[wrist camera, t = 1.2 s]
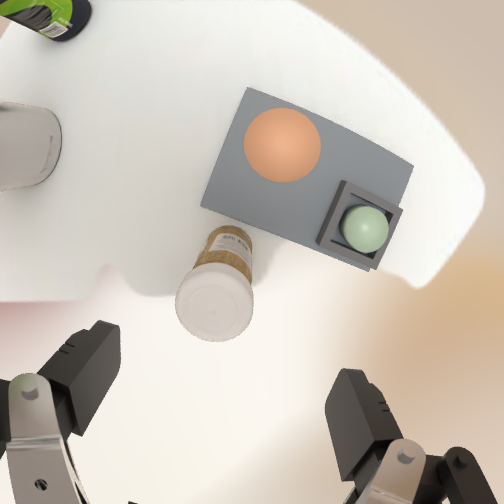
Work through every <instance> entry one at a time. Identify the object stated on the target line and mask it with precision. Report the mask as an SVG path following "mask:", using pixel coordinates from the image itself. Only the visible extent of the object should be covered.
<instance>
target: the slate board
mask: <svg viewBox="0 0 504 504" xmlns="http://www.w3.org/2000/svg"><path fill="white" fill-rule="evenodd" d="M413 167H414V166H413V165H412V164H410V163H408V162H407V161H405V160H403V159H402V158H400V157H398V156H397V155H395V154H393V153H392V152H390V151H388V150H386V149H385V148H383V147H381V146H379V145H377V144H375V143H374V142H372V141H370V140H368V139H366V138H364V137H362V136H360V135H359V134H357V133H355V132H353V131H351V130H349V129H347V128H345V127H343V126H341V125H338V124H336V123H334V122H332V121H330V120H328V119H326V118H324V117H321V116H319V115H317V114H315V113H312V112H310V111H308V110H306V109H303V108H301V107H298V106H296V105H294V104H291V103H289V102H286V101H284V100H281V99H279V98H276V97H274V96H271V95H268V94H266V93H263V92H260V91H257V90H255V89H252V88H249V87H247V89H246V91H245V94H244V96H243V98H242V101H241V103H240V105H239V108H238V110H237V112H236V115H235V117H234V120H233V122H232V124H231V127H230V129H229V132H228V134H227V137H226V139H225V142H224V144H223V147H222V149H221V152H220V154H219V157H218V159H217V162H216V165H215V167H214V170H213V172H212V175H211V178H210V180H209V183H208V186H207V188H206V191H205V194H204V197H203V199H202V202H201V205H200V206H202V207H205V208H207V209H210V210H213V211H215V212H218V213H221V214H223V215H226V216H229V217H231V218H234V219H237V220H239V221H242V222H244V223H247V224H250V225H252V226H255V227H257V228H260V229H263V230H265V231H268V232H270V233H273V234H275V235H278V236H281V237H283V238H286V239H288V240H291V241H293V242H296V243H299V244H301V245H303V246H306V247H309V248H311V249H313V250H316V251H319V252H321V253H323V254H326V255H328V256H331V257H334V258H336V259H338V260H341V261H343V262H346V263H348V264H350V265H353V266H356V267H358V268H360V269H363V270H365V271H367V272H369V270H370V268H373V269H375V270H376V269H377V267H378V265H379V263H380V261H381V259H382V256H383V254H384V252H385V250H386V248H387V246H388V244H389V241H390V239H391V237H392V235H393V233H394V230H395V228H396V226H397V223H398V221H399V219H400V216H401V214H402V212H403V209H401V208H399V207H398V206H399V203H400V201H401V199H402V196H403V194H404V191H405V189H406V186H407V183H408V181H409V178H410V176H411V173H412V170H413ZM360 204H362V205H367V206H369V207H372V208H375V209H377V210H379V211H380V212H382V213H383V214H384V216H385V217H386V219H387V222H388V227H389V230H388V236H387V239H386V241H385V242H384V244H383V245H382V246H381V247H380V248H379V249H377V250H375V251H373V252H368V253H365V252H360V251H358V250H356V249H355V248H354V247H353V246H351V245H350V244H349V243H348V242H347V241H346V240H345V239H344V237H343V236H342V233H341V228H340V225H341V220H342V217H343V215H344V213H345V212H346V211H347V210H348V209H349V208H351V207H352V206H355V205H360Z"/></svg>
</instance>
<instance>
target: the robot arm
mask: <svg viewBox="0 0 504 504" xmlns="http://www.w3.org/2000/svg"><path fill="white" fill-rule="evenodd" d="M60 148H61V130H60V126H59V123H58V121H57V119H56V117H55V116H54V114H53V113H52V112H50V111H49V110H47V109H43V108H38V107H33V106H28V105H23V104H17V103H10V102H4V101H0V191H4V190H9V189H14V188H20V187H25V186H30V185H35V184H38V183H40V182H42V181H44V180H45V179H46V178H47V177H48V176H49V174H50V173H51V172H52V170H53V169H54V167H55V165H56V163H57V160H58V157H59V153H60ZM120 363H121V352H120V328H119V326H118V325H114V324H111V323H108V322H104V321H101V320H99V321H97V322H96V323H95V325H94V326H93V327H92V328H91V329H90V330H89V331H88V330H85V329H83V330H81V331H79V332H76V333H74V334H73V335H71V337H70V338H69V339H68V340H67V341H66V342H65V344H63V345H62V346H61V347H60V348H59V351H56V352H55V354H54V355H53V356H52V357H51V358H50V359H49V360H48V361H47V362H46V364H45V365H44V366H43V367H42V368H41V369H40V370H39V371H38V372H37V374H33V373H25V374H21V375H18V376H17V377H15V378H14V379H13V380H12V381H7V380H3V379H0V459H1V457H2V456H3V454H4V452H5V450H6V452H7V459H8V467H9V473H10V479H11V484H12V488H13V493H14V497H15V502H16V504H90V503H89V500H88V498H87V496H86V494H85V492H84V489H83V487H82V485H81V482H80V479H79V476H78V473H77V470H76V467H75V464H74V461H73V458H72V455H71V451H70V448H69V444H68V441H67V439H68V437H69V435H70V434H71V432H72V433H74V434H76V435H79V436H81V437H82V436H83V434H84V432H85V431H86V429H87V427H88V425H89V423H90V421H91V420H92V418H93V416H94V414H95V413H96V411H97V409H98V407H99V405H100V404H101V402H102V400H103V398H104V397H105V395H106V393H107V392H108V390H109V388H110V386H111V385H112V383H113V381H114V379H115V378H116V376H117V374H118V372H119V368H120ZM325 415H326V419H327V423H328V427H329V431H330V435H331V439H332V443H333V447H334V451H335V455H336V459H337V463H338V468H339V472H340V476H341V480H342V481H354V482H355V487H354V488H353V489H352V490H351V492H350V493H349V495H348V496H347V498H346V500H345V501H344V503H343V504H442V501H444V500H445V499H446V498H447V497H448V499H449V501H450V504H498V503H497V501H496V499H495V497H494V495H493V493H492V491H491V489H490V486H489V485H488V482H487V481H486V479H485V476H484V474H483V472H482V470H481V468H480V466H479V465H478V463H477V461H476V459H475V457H474V455H473V454H472V453H471V452H470V451H468V450H466V449H465V448H462V447H452V448H450V449H449V450H448V451H447V453H445V455H444V456H443V457H442V456H433V455H426V454H425V452H424V450H423V449H422V448H421V446H420V445H418V444H417V443H416V442H414V441H411V440H408V439H404V438H403V436H402V433H401V431H400V429H399V427H398V425H397V423H396V421H395V419H394V417H393V415H392V413H391V412H390V408H389V407H388V404H386V401H385V399H384V397H383V394H382V392H381V391H380V390H379V389H378V388H377V387H376V386H375V385H373V384H372V383H371V384H370V383H369V382H368V380H367V378H366V376H365V374H364V372H363V371H362V370H357V369H345V368H343V369H341V370H340V372H339V374H338V376H337V378H336V380H335V383H334V385H333V387H332V389H331V391H330V393H329V396H328V397H327V400H326V404H325ZM128 504H137V503H133V502H130V501H129V502H128Z"/></svg>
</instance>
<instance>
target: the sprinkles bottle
mask: <svg viewBox="0 0 504 504" xmlns="http://www.w3.org/2000/svg"><path fill="white" fill-rule="evenodd" d="M251 254H252V244H251V241H250V238H249V237H248V235H247V234H246V233H245V232H244V231H242V230H241V229H240V228H237V227H234V226H223V227H220V228H218V229H216V230H214V231H213V232H212V233H211V234H210V236H209V238H208V240H207V242H206V244H205V245H204V247H203V249H202V251H201V252H200V254H199V256H198V259H197V261H196V263H195V265H194V267H193V269H192V270H191V271H190V272H189V273H188V274H187V275H186V277H185V278H184V280H183V281H182V283H181V285H180V287H179V290H178V292H177V295H176V299H175V309H176V313H177V316H178V319H179V321H180V323H181V324H182V325H183V327H184V328H185V329H186V330H187V331H188V332H190V333H191V334H192V335H194V336H196V337H198V338H200V339H202V340H206V341H211V342H221V341H227V340H230V339H233V338H235V337H236V336H238V335H240V334H241V333H242V332H243V331H244V330H245V329H246V328H247V326H248V325H249V323H250V321H251V318H252V314H253V291H252V288H251V281H252V257H251Z"/></svg>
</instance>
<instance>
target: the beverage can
mask: <svg viewBox="0 0 504 504" xmlns="http://www.w3.org/2000/svg"><path fill="white" fill-rule="evenodd" d="M89 13H90V3H89V1H88V0H0V15H1V16H3V17H6V18H8V19H10V20H12V21H15V22H17V23H19V24H21V25H23V26H25V27H27V28H29V29H32V30H34V31H36V32H38V33H40V34H42V35H44V36H46V37H48V38H50V39H52V40H54V41H61V40H65V39H67V38H69V37H71V36H73V35H74V34H76V33H77V32H78V31H79V30H80V29H81V28H82V27H83V26H84V24H85V23H86V21H87V19H88V17H89Z"/></svg>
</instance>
